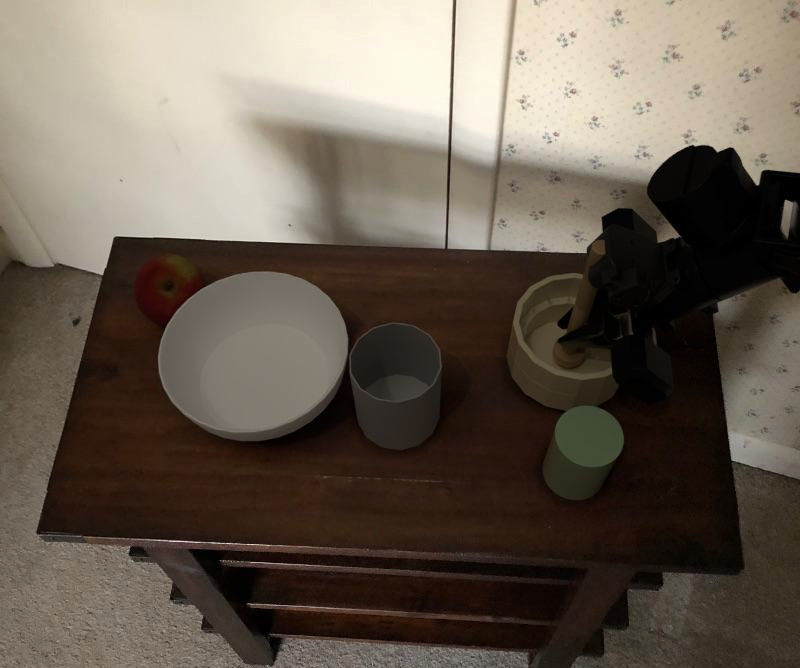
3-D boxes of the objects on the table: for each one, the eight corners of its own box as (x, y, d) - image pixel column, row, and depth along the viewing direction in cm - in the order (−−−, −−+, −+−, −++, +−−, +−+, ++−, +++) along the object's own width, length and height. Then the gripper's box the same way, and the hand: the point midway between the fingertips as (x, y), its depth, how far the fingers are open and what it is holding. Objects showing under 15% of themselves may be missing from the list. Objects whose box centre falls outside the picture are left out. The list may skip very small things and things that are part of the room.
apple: (138, 341, 82) (112, 297, 75) (158, 281, 86) (135, 233, 79) (207, 347, 82) (187, 303, 75) (224, 286, 86) (206, 239, 79)
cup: (442, 447, 76) (444, 399, 67) (358, 452, 76) (350, 405, 67) (435, 374, 80) (437, 319, 71) (356, 378, 80) (348, 324, 71)
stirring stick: (570, 336, 80) (605, 226, 65) (589, 358, 78) (629, 251, 63) (545, 350, 79) (574, 242, 64) (564, 373, 78) (598, 268, 63)
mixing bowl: (577, 296, 84) (589, 255, 78) (649, 378, 79) (668, 341, 73) (484, 345, 81) (489, 307, 75) (552, 433, 76) (564, 400, 70)
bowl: (341, 472, 75) (334, 440, 68) (159, 457, 76) (135, 424, 69) (364, 317, 83) (359, 276, 77) (200, 306, 84) (182, 265, 78)
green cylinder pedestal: (579, 433, 76) (595, 394, 69) (617, 480, 74) (638, 445, 66) (529, 461, 75) (541, 425, 68) (567, 511, 72) (582, 479, 65)
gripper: (651, 137, 65) (508, 220, 75) (672, 319, 56) (506, 385, 67) (714, 205, 71) (574, 273, 82) (742, 378, 63) (581, 430, 73)
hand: (559, 334), depth 76 cm, fingers closed on stirring stick, 2 cm apart
